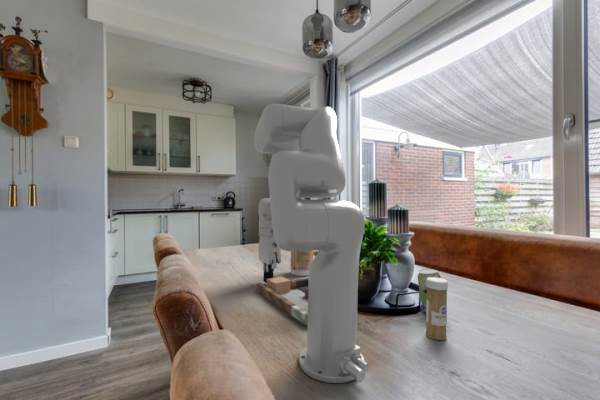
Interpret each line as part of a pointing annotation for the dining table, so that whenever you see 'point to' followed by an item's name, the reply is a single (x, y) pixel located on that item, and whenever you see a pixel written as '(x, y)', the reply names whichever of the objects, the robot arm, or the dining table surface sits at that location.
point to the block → (279, 284)
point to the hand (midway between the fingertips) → (268, 281)
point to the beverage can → (422, 284)
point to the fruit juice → (301, 262)
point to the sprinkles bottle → (436, 308)
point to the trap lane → (286, 304)
